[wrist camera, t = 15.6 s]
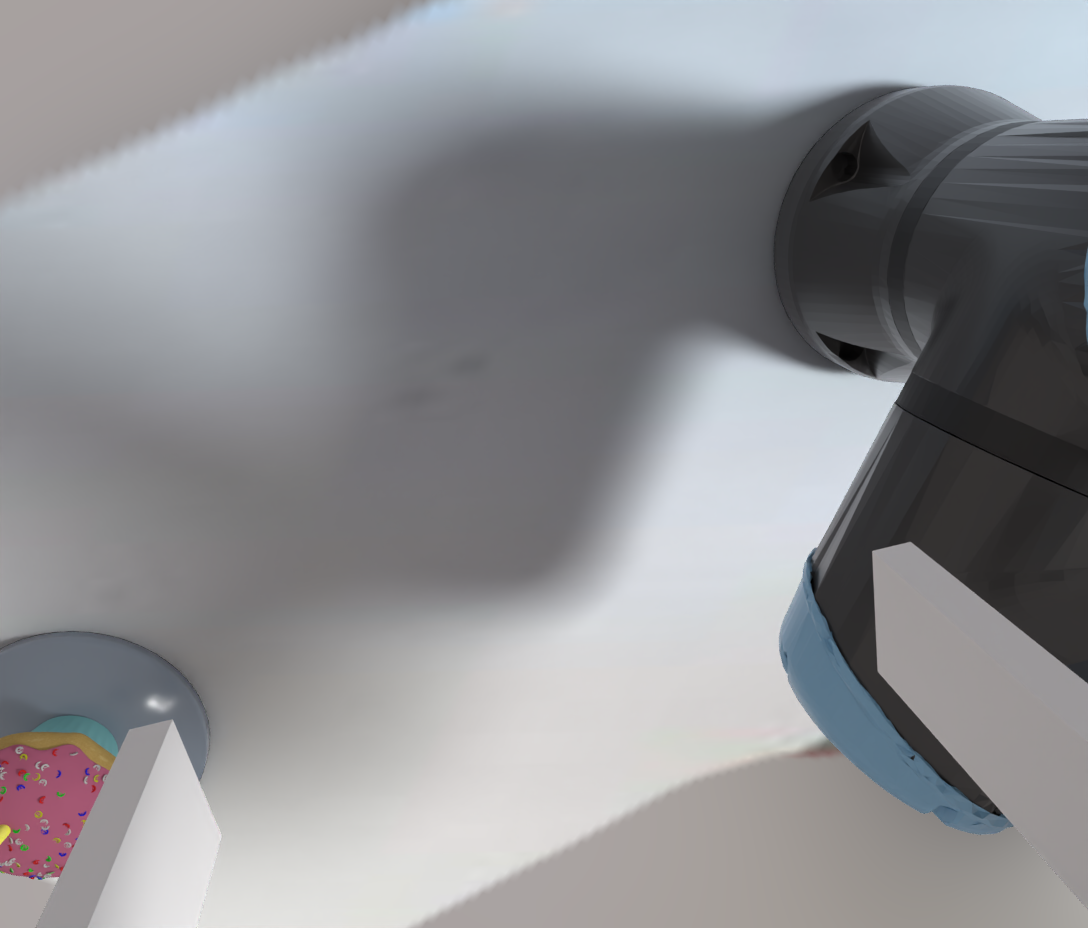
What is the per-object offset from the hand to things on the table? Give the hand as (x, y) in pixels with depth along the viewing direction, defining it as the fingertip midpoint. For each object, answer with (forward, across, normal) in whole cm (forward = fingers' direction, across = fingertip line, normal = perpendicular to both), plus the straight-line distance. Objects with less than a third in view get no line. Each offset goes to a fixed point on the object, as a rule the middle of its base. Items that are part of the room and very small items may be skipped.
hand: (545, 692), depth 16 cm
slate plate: (+31, +26, +18) cm, 45 cm away
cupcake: (+30, +26, +18) cm, 44 cm away
